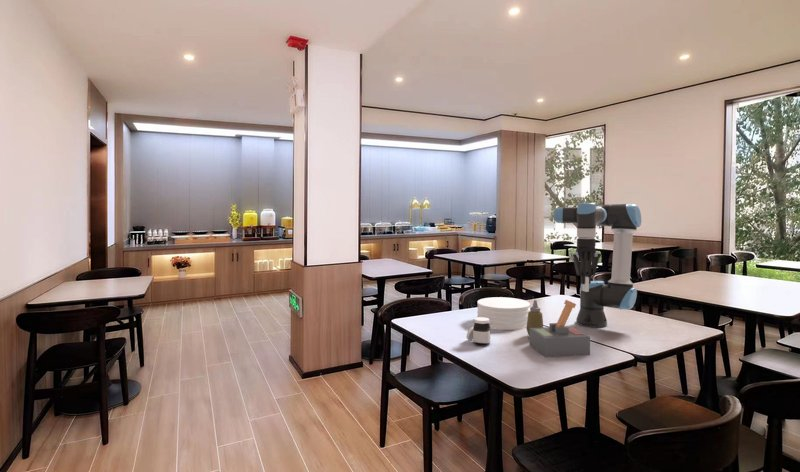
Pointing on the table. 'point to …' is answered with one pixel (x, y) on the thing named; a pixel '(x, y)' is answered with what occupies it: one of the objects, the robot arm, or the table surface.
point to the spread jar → (480, 332)
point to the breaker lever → (565, 313)
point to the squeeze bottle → (534, 317)
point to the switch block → (559, 341)
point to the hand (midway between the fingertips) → (585, 291)
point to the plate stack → (504, 312)
